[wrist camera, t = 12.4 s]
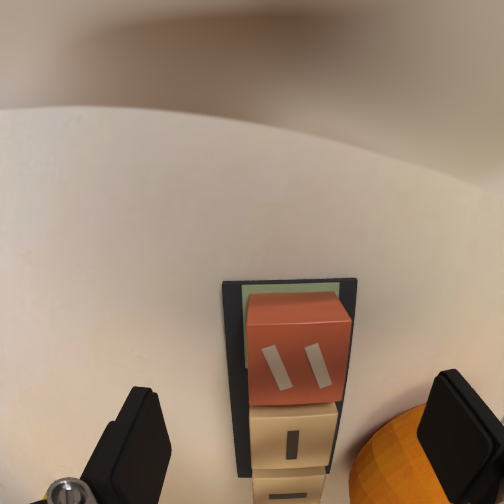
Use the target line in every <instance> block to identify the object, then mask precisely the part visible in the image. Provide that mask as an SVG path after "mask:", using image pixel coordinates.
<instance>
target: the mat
mask: <svg viewBox="0 0 504 504" xmlns="http://www.w3.org/2000/svg"><path fill="white" fill-rule="evenodd" d="M222 288H223V305H224V320H225V335H226V349H227V362H228V375H229V387H230V399H231V411H232V422H233V433H234V443H235V453H236V463H237V473H238V477H239V478H252V470H253V469H252V466H251V446H250V426H249V411H250V404H249V386H248V363H247V339H246V320H247V309H248V299H249V294H264V293H302V292H330V291H334V292H335V294H336V295H337V297H338V299H339V300H340V302H341V304H342V305H343V307H344V309H345V310H346V312H347V314H348V315H349V317H350V319H351V320H352V324H351V333H350V342H349V351H348V359H347V367H346V374H345V381H344V388H343V395H342V400H341V401H335V405H336V408H337V412H338V418H337V423H336V429H335V434H334V440H333V445H332V450H331V455H330V460H329V464H328V465H327V466H325V472H326V474H329V472H330V468H331V463H332V459H333V454H334V449H335V444H336V440H337V434H338V429H339V424H340V418H341V413H342V407H343V401H344V395H345V388H346V382H347V375H348V368H349V360H350V352H351V344H352V335H353V326H354V316H355V305H356V293H357V279H356V278H335V279H303V280H263V281H223V283H222Z"/></svg>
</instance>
